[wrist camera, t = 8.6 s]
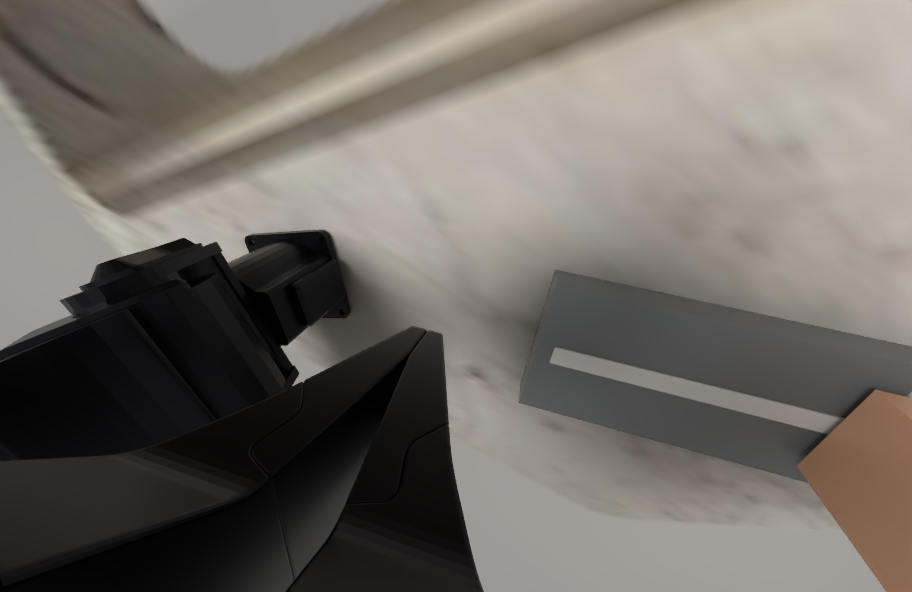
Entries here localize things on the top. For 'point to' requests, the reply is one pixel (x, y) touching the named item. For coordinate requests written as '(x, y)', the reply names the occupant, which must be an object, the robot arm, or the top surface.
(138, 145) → the top surface
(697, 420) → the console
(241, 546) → the robot arm
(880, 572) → the fader knob
